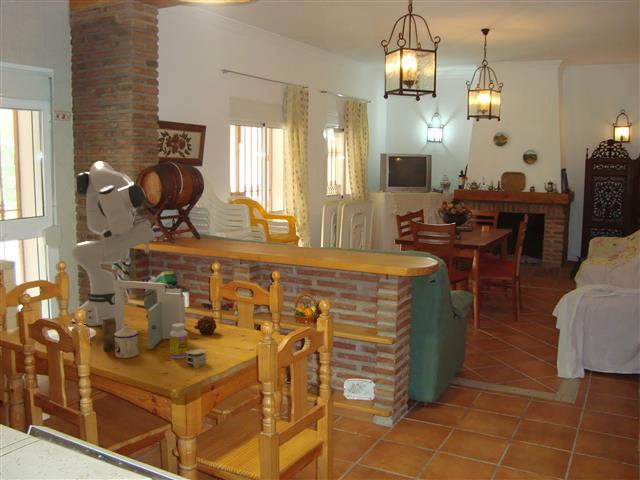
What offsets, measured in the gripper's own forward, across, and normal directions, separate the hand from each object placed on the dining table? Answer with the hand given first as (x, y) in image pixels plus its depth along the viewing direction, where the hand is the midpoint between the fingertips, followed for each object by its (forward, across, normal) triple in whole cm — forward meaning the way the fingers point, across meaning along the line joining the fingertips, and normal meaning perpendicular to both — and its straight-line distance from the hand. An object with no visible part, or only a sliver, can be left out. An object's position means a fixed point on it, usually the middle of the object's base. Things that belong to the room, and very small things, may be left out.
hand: (136, 257), depth 248 cm
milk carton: (+44, +2, -21) cm, 48 cm away
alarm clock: (+44, +12, -46) cm, 64 cm away
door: (+38, +6, 0) cm, 38 cm away
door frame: (+39, +11, -13) cm, 42 cm away
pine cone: (+47, -12, -13) cm, 50 cm away
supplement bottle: (+39, -3, +18) cm, 44 cm away
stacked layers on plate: (+40, -10, +30) cm, 51 cm away
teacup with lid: (+33, +16, +14) cm, 39 cm away
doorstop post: (+32, +24, +4) cm, 40 cm away
